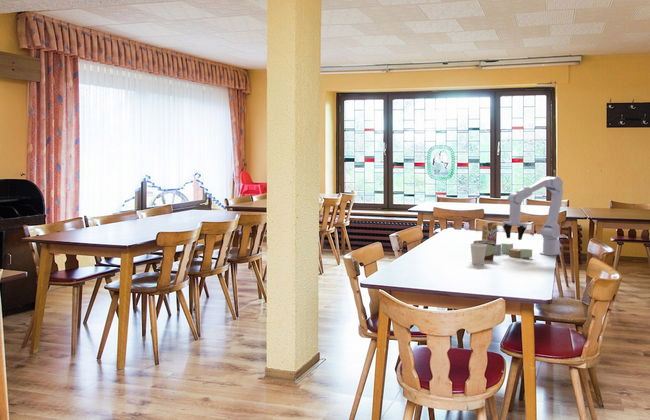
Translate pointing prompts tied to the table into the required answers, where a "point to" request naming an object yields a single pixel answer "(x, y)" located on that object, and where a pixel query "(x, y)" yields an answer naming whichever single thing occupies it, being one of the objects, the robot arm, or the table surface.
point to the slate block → (497, 249)
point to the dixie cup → (478, 253)
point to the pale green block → (526, 253)
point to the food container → (488, 249)
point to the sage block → (506, 247)
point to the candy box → (489, 231)
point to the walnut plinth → (514, 253)
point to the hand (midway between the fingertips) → (514, 238)
